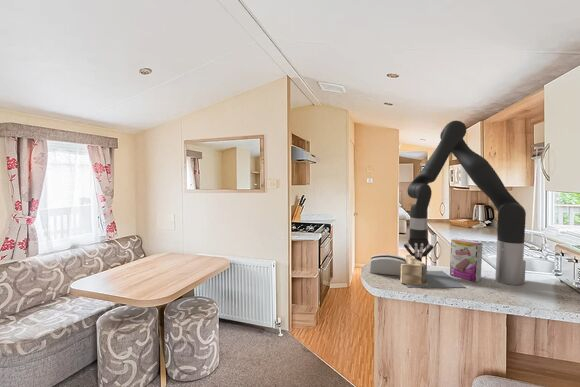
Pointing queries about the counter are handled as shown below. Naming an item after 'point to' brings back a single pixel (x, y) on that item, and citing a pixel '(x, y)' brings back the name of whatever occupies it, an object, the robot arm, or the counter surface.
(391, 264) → the white plastic device
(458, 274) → the candy bar box
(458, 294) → the counter surface
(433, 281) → the mat
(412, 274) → the fence fixed
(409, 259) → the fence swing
